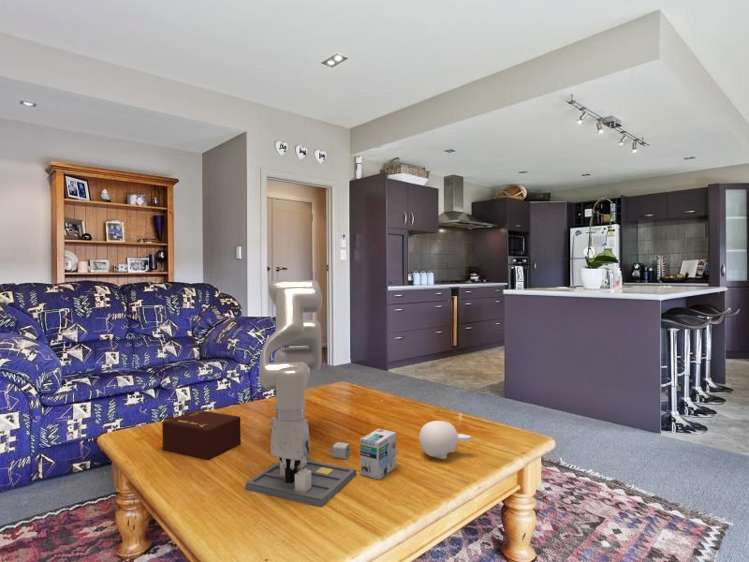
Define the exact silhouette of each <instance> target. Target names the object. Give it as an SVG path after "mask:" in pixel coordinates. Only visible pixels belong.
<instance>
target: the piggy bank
mask: <svg viewBox="0 0 749 562" xmlns="http://www.w3.org/2000/svg"><path fill="white" fill-rule="evenodd" d="M418 436H419V437H418V441H419V444H420V447H421V449H422V450H423V452H424V453H425V454H426V455H427V456H430V457H433V458H436V459H439V460H440V459H441V460H446V459H447V457H448V455H449V453H454V452H455V450H456V449H455V448H456V447H457V445H458V443H459V442H462V443H464V442H468V443H469V442H472V435H467V434H464V433H458V432H457V429H456V428H455V426H454V425H453V424H451V423H450V422H448V421H443V420H432V421H429V422H426V423H425V424H424V425H423V426H422V428H421V429H420V432H419V435H418Z"/></svg>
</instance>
